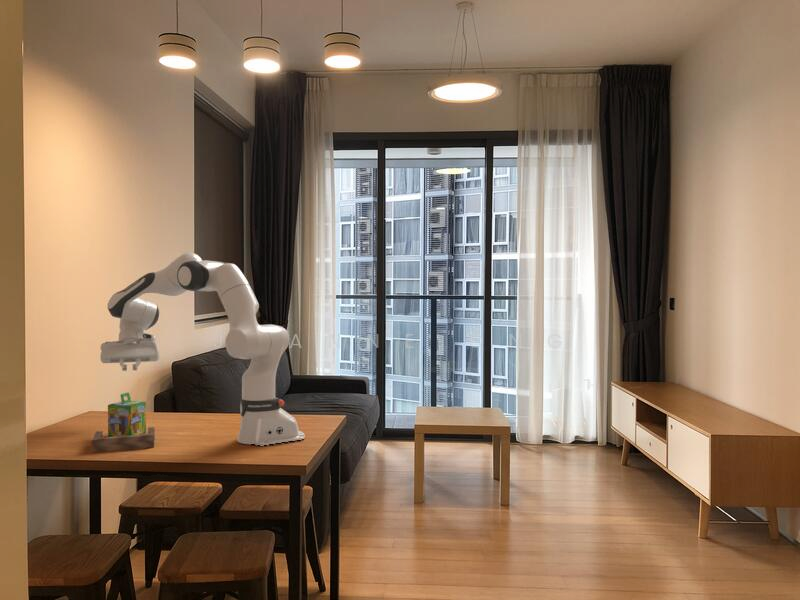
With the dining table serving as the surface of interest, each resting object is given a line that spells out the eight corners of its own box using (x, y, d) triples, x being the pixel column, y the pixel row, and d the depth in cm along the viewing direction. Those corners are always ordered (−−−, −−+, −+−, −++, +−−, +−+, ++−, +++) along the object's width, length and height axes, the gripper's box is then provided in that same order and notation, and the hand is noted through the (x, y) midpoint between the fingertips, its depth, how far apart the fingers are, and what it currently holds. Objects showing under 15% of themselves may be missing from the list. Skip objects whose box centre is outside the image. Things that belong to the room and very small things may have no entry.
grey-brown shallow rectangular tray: (154, 438, 203) (154, 427, 203) (154, 447, 192) (153, 434, 192) (96, 443, 197) (95, 431, 196) (91, 452, 185) (91, 439, 185)
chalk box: (130, 439, 202) (130, 396, 202) (106, 438, 204) (106, 395, 204) (147, 433, 211) (147, 391, 211) (124, 432, 213) (124, 390, 213)
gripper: (100, 336, 224) (97, 365, 215) (158, 335, 231) (158, 363, 222) (101, 347, 228) (99, 376, 219) (159, 345, 236) (158, 373, 227)
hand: (129, 369), depth 221 cm, fingers open, 2 cm apart
